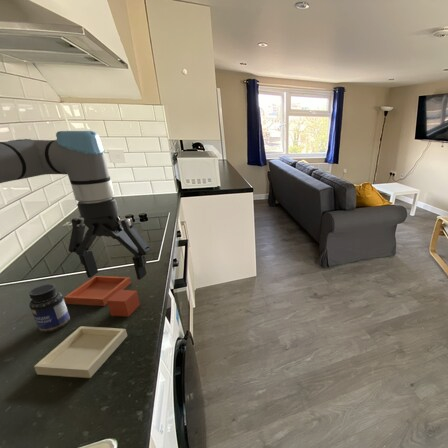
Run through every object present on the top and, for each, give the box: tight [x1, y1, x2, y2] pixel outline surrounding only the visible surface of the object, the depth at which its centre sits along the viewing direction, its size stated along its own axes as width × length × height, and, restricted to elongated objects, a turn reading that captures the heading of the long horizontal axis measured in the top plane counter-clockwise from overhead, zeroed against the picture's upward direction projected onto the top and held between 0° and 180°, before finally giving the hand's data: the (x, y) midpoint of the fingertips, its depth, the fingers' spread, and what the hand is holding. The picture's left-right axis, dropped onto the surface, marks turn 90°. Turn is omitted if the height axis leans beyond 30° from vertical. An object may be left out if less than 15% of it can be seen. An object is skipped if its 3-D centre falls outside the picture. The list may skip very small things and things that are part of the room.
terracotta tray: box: [63, 275, 132, 307], centre depth 81 cm, size 12×12×2 cm
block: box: [107, 289, 141, 318], centre depth 73 cm, size 5×5×5 cm
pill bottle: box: [28, 283, 71, 334], centre depth 66 cm, size 6×6×11 cm
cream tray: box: [33, 325, 128, 379], centre depth 59 cm, size 12×12×2 cm
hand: (117, 275), depth 70 cm, fingers open, 13 cm apart
